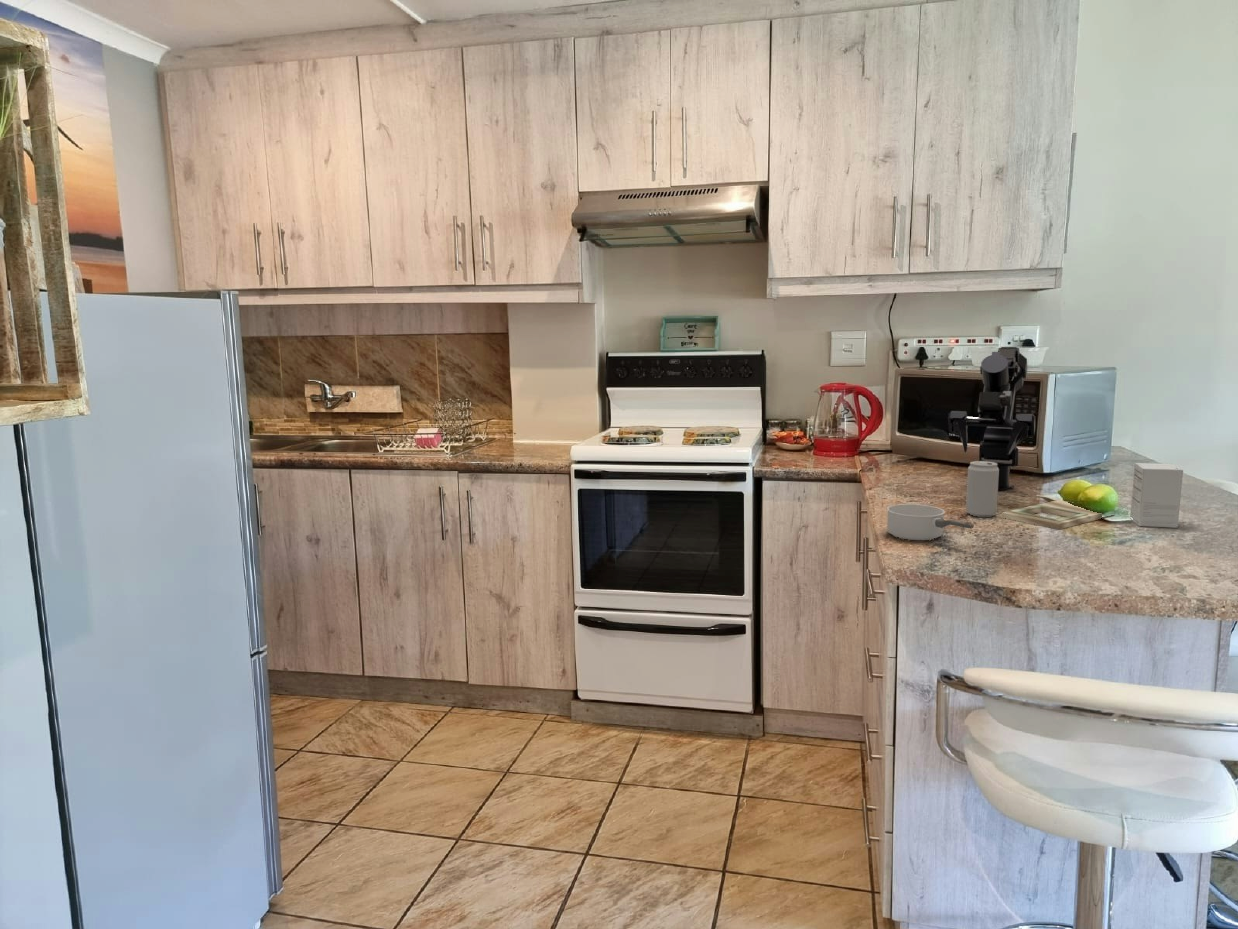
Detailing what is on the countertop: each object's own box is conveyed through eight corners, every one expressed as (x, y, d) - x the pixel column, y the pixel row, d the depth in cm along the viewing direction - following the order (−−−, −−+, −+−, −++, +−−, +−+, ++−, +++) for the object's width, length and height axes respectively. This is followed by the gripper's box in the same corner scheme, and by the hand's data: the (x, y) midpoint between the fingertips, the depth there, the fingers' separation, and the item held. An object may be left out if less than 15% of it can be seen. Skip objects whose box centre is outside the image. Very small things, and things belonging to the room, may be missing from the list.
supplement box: (1167, 520, 178) (1173, 463, 176) (1178, 528, 171) (1184, 469, 169) (1128, 518, 181) (1134, 462, 178) (1137, 526, 174) (1143, 467, 171)
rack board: (1057, 505, 194) (1057, 499, 194) (1114, 515, 183) (1114, 509, 183) (1001, 517, 183) (1002, 511, 183) (1058, 529, 172) (1059, 523, 172)
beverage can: (999, 518, 182) (1002, 465, 180) (968, 517, 184) (971, 464, 182) (992, 512, 188) (995, 460, 186) (962, 511, 190) (965, 460, 188)
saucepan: (947, 557, 154) (949, 528, 153) (873, 533, 172) (874, 507, 171) (991, 549, 159) (993, 521, 158) (914, 527, 177) (915, 501, 176)
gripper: (950, 377, 197) (940, 429, 190) (1037, 379, 187) (1030, 434, 180) (954, 406, 205) (944, 457, 198) (1038, 409, 196) (1030, 462, 189)
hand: (986, 452), depth 191 cm, fingers open, 9 cm apart
